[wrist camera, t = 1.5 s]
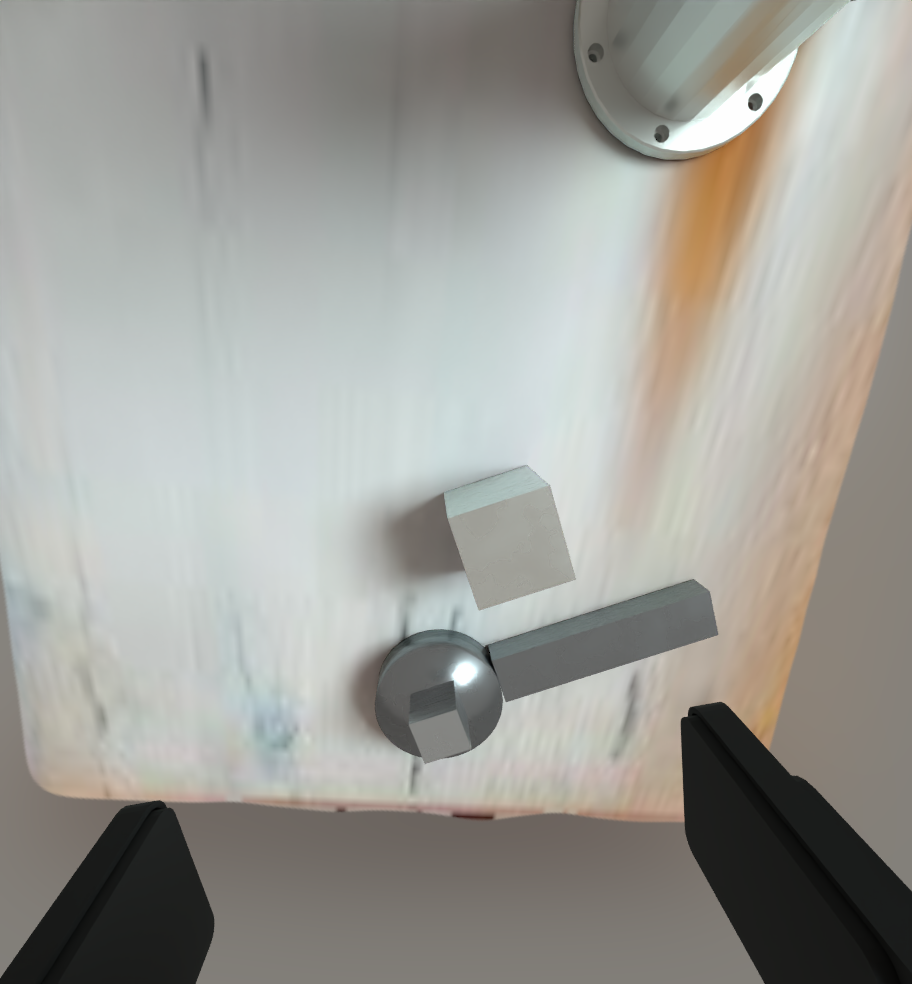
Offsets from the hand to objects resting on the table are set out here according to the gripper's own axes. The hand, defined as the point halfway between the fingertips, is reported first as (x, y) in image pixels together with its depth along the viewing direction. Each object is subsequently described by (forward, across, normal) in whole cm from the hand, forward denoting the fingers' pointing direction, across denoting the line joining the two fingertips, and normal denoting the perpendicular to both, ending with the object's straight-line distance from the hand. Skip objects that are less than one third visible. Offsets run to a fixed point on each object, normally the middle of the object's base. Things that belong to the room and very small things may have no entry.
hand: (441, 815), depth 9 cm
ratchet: (+24, -6, +13) cm, 28 cm away
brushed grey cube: (+24, -4, +3) cm, 25 cm away
